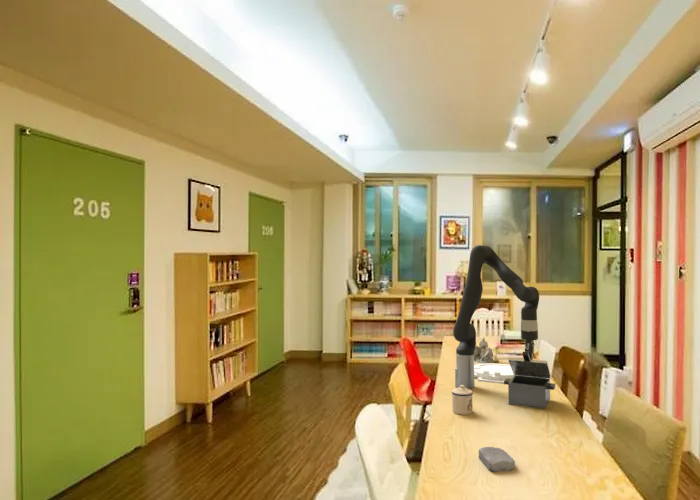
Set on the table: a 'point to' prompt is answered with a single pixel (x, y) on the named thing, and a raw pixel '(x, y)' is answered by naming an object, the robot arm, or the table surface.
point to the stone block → (496, 459)
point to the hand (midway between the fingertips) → (530, 365)
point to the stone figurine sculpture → (483, 353)
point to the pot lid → (529, 367)
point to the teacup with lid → (462, 400)
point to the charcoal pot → (529, 391)
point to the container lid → (493, 372)
